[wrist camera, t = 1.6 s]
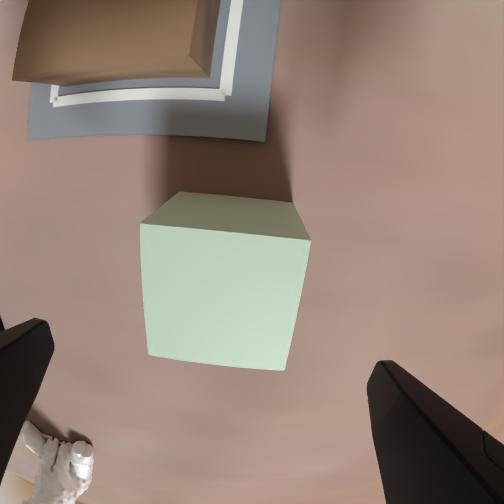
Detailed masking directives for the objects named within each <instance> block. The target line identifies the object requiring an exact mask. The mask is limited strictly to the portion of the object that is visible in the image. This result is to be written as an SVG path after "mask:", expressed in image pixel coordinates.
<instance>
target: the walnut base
mask: <svg viewBox="0 0 504 504" xmlns="http://www.w3.org/2000/svg"><path fill="white" fill-rule="evenodd" d="M220 2H221V0H29V3H28V6H27V9H26V13H25V17H24V21H23V25H22V29H21V33H20V37H19V42H18V47H17V52H16V58H15V64H14V70H13V77H12V81H24V82H34V83H43V84H51V85H58V86H65V87H67V86H74V85H81V84H89V83H97V82H107V81H118V80H131V79H150V78H210V73H211V65H212V57H213V49H214V42H215V35H216V28H217V21H218V15H219V8H220Z"/></svg>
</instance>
